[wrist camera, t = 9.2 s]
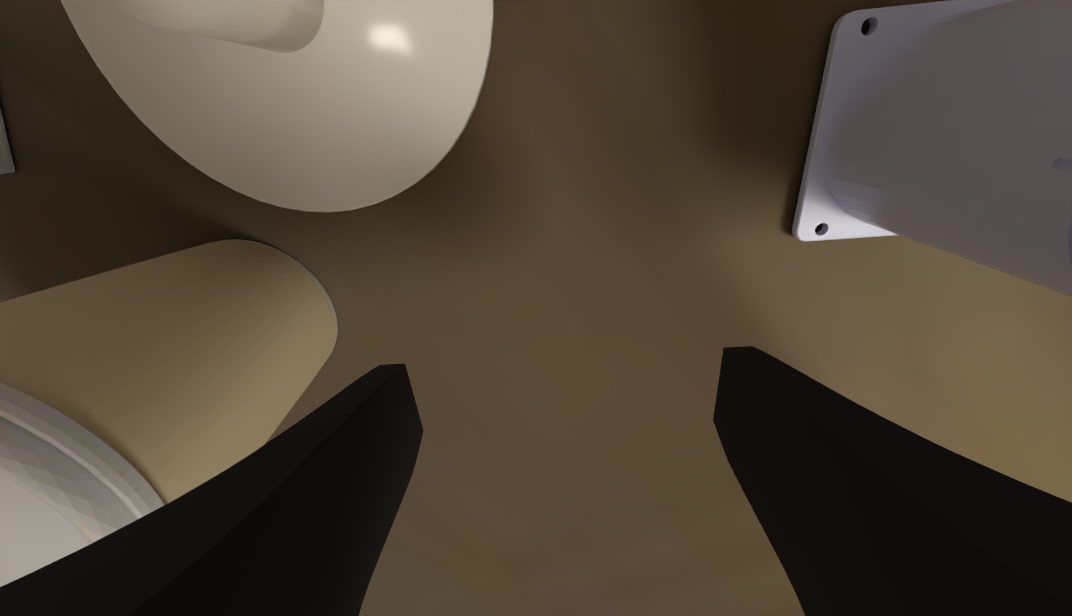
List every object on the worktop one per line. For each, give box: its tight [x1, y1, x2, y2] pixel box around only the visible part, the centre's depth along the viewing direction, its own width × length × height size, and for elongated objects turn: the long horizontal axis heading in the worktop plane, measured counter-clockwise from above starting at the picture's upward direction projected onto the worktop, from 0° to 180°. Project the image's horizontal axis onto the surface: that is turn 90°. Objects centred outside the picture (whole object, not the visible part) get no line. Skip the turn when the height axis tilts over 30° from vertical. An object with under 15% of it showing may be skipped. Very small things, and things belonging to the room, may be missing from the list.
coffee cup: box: [0, 239, 338, 587], centre depth 15 cm, size 9×9×12 cm
